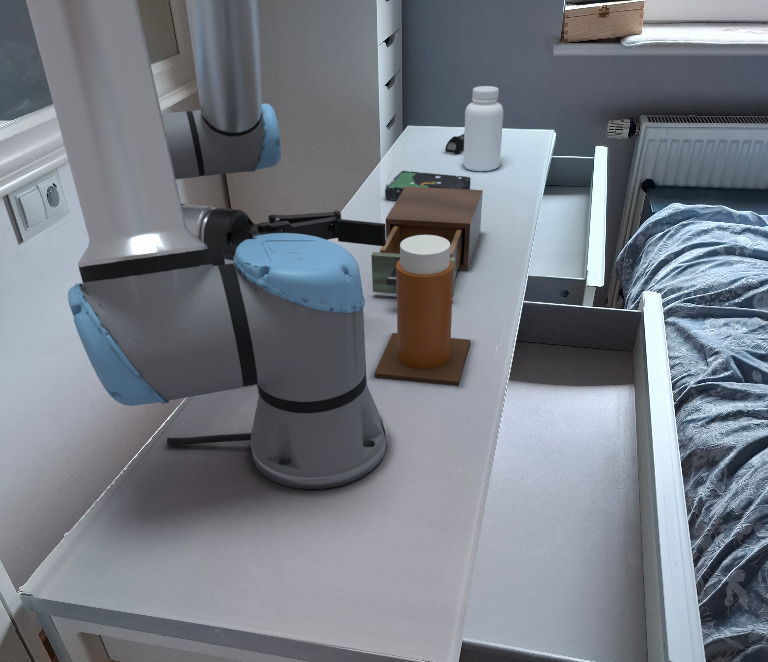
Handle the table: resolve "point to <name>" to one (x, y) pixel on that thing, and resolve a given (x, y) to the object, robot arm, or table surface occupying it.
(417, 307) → the pill bottle
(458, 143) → the electric trimmer
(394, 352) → the mat
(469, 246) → the cabinet
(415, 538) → the table surface
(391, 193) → the disk drive
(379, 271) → the drawer
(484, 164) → the pill bottle
